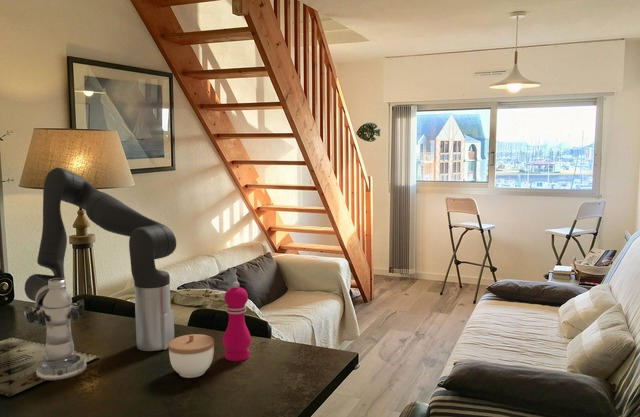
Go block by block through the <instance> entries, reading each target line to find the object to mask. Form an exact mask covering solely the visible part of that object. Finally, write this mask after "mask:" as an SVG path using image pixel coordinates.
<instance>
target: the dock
mask: <svg viewBox="0 0 640 417" xmlns="http://www.w3.org/2000/svg"><path fill="white" fill-rule="evenodd" d="M86 370H87V361H86V360H85V355H83V354H81V353H75V352H74V354H73V356H72V357H71V358H70V359H68V360H66V361H62V362H50V361H49V360H48V359H47V358H46V357H45V358H43V359H42V360H40V361H38V364H37V368H36V370H35V371H36V372H35V375H37V376H36V378H38V377H39V378H41V379H40V380H42V379H44V381H60V380H66V379H70V378H73V377H75V376H78V375H81V374H82V373H84V372H85V371H86ZM39 378H38V379H39Z"/></svg>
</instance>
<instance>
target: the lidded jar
mask: <svg viewBox="0 0 640 417" xmlns="http://www.w3.org/2000/svg"><path fill="white" fill-rule="evenodd" d="M167 349H168V355H169V362H170V365H171V367H172V369H173V370H174V371H175V373H177V374H179V376H180V377H182V378H187V379H189V378H190V379H192V378H193V379H194V378H198V377H200V376H203V375H204V374H205V373H206V372H207V370H208V369H209V368H210V366H211V364H212V362H213V360H214V353H215V339H214V338H213V337H212V336H210V335H207V334H199V333H198V334H197V333H196V334H195V333H194V334H191V333H190V334H186V335H185V334H184V335H180V336H178V337H174V339H173V340H171V341H170V342H169V344H168V348H167Z"/></svg>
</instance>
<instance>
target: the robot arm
mask: <svg viewBox="0 0 640 417" xmlns="http://www.w3.org/2000/svg"><path fill="white" fill-rule="evenodd" d="M42 195H43V196H42V232H41V238H40V243H39V249H38V255H37V261H36V262H37V264H38V266H40V267H43V268H46V269H49V270H51V272H52V273H53V275H50V274H40V273H35V274H31V275H30V276H29V277H28V278H27V279H26V281H25V283H24V293H25V295H26V298H28V299H29V300H31V301H32V302H35V305H34V306H35V308H33V307H30V306H24V307H23V313H24V314H23V315H24V319H25V320H26V321H27V322H28V323H29V324H33V323H35V322H37V323H38V325H41V326H42V327H43V326H46V317H45V313H44V307H43V300H44V298H45V296H46V294H47V293H48V292H49V289H48V280H50V279H54V278H64V279H65V278H66V277H65V268H64V267H65V265H64V263H65V256H66V251H67V245H68V235H67V232H66V228H65V225H64V222H63V217H62V213H61V202H65V203H67V204H71V205H73V206H76V207H78V208H80V209H82V210H84V212H85V214H86V216H87V217H88V219H89V220H90V221H91V222H92V223H94V224H95V225H97V226H98V227H100V228H101V229H103V230H105V231H107V232H110V233H113V234H115V235H120V236H125V237H128V238H129V239H128V248H129V250H128V251H129V260H130V270H131V272H130V273H131V275H132V280H133V282H134V283H133V284H134V305H135V306H134V308H135V310H134V313H135V331H136V332H135V333H136V334H135V336H136V348H137V350H140V351H144V352H154V351H163V350H168V349H169V348H168V344H169V342H170V341H171V340H173V339H174V338H175V316H174V315H175V313H174V309H173V308H171V282H170V281H171V276H170V274H169V272H168V271H164V270H160V269H157V267H156V262H155V261H156V260H158V259H164V258H167V257H169V256H171V255H172V254H173V253H174V252H175V250H176V248H177V238H176V236H175V234H174V232H173V231H172V229H170V227H168V226H167V225H165V224H163V223H161V222H158V221H157V220H153V219H151V218H149V217H147V216H146V215H143V214H142V213H140V212H139V211H137V210H135V209H133V208H131V207H130V206H128V205H126V204H125V203H124V202H122V201H120V200H119V199H117V198H116V197H114V196H112V195H110V194H108V193H106V192H104V191H100V190H99V189H97V188H96V187H94V186H93V185H92V184H91V183H90V182H88V180H86V179H85V178H84V177H83V176H81V175H79V174H77V173H74V172H72V171H70V170H68V169H64V168H62V167H55V168H53V169H51V170H50V171H49V172H48V173H47V175H46V176H45V178H44V183H43V191H42ZM65 280H66V279H65ZM66 284H67V283H66V282H65V287H64V289H65V290H66V288H67V287H66ZM66 291H67V290H66ZM84 315H85V300H84V299H82V298H81V299H79V300H78V301H76V302H72V306H71V320H72V322H75V321H77V320H78V319H79V318H80V316H84Z"/></svg>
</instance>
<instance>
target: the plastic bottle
mask: <svg viewBox="0 0 640 417" xmlns="http://www.w3.org/2000/svg"><path fill="white" fill-rule="evenodd" d="M65 283H66V279H64V278H54V279H50V280H48V289H49V292H48V293H47V294H46V296H45V298H44V300H43V307H44V313H45V317H46V321H45V326H46V343H45V346H44V353H45V358H47V359H48V360H49V361H50V362H62V361H66V360H68V359H70V358H71V357H72V356H73V354H74V353H75V344H74V340H73V335H72V329H71V320H72V318H71V306H72V303H73V300H72V296H71V295H70V293H69V292H68V291H67V290H65V289H64V287H65Z"/></svg>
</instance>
